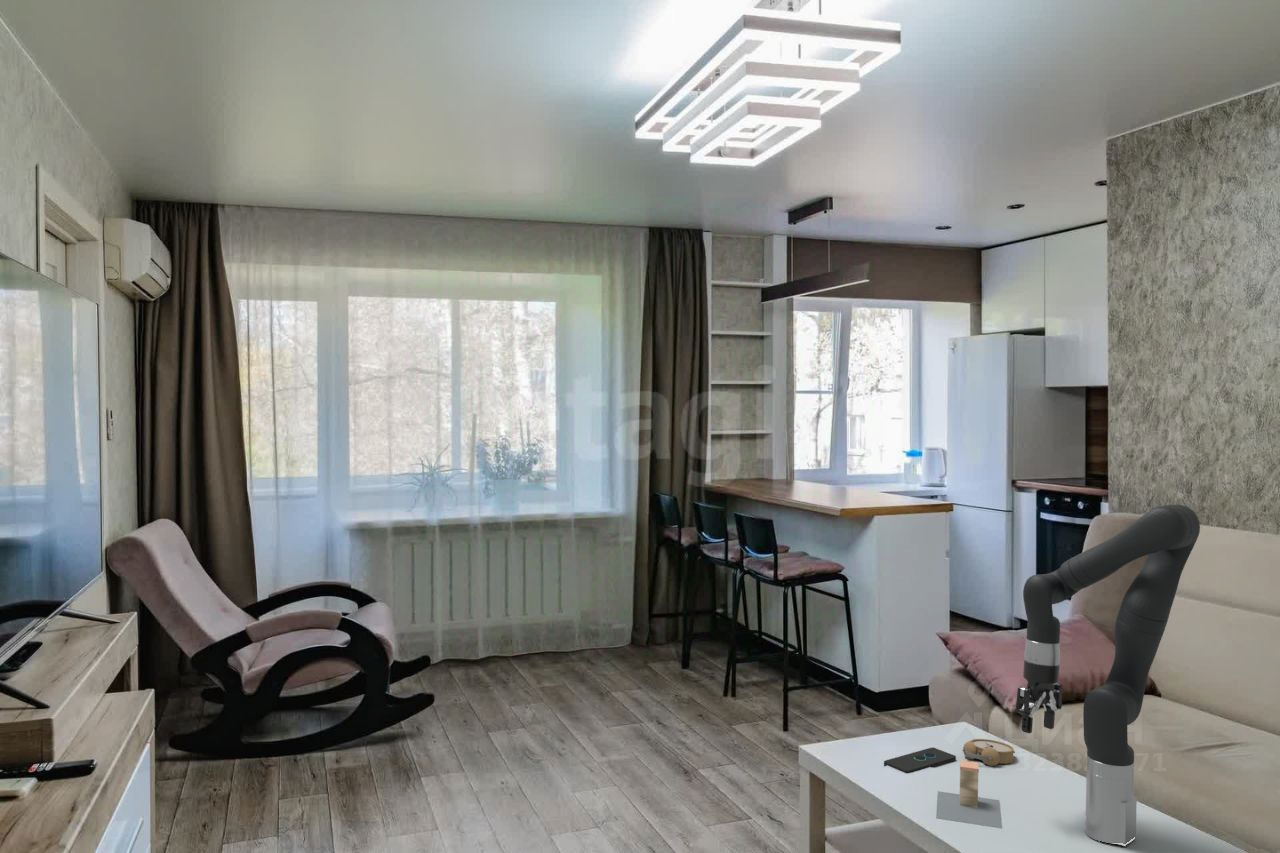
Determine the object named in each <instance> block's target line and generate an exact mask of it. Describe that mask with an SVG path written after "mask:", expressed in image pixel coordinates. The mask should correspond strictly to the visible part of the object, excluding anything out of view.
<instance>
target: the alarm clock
mask: <svg viewBox="0 0 1280 853" xmlns="http://www.w3.org/2000/svg"><path fill="white" fill-rule="evenodd" d="M962 752H963V754H964V756H965V757H966V758H967V759H968V760H975V759H976V760H979V761H982V762H983V763H984V764H985V765H986V764H987V766H988V765H991V766H990V767H994V766H997V765H999V764H1005V765H1007V764H1012V763H1013V762H1014V754H1015V753H1016V751H1015V749H1014V747H1013V746H1012V745H1010V744H1008V743H1006V742H1002V741H998V740H994V739H988V738H987V739H986V738H973V739H971V740H969V741H967V742H965V743H964V744H963V747H962Z"/></svg>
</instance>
